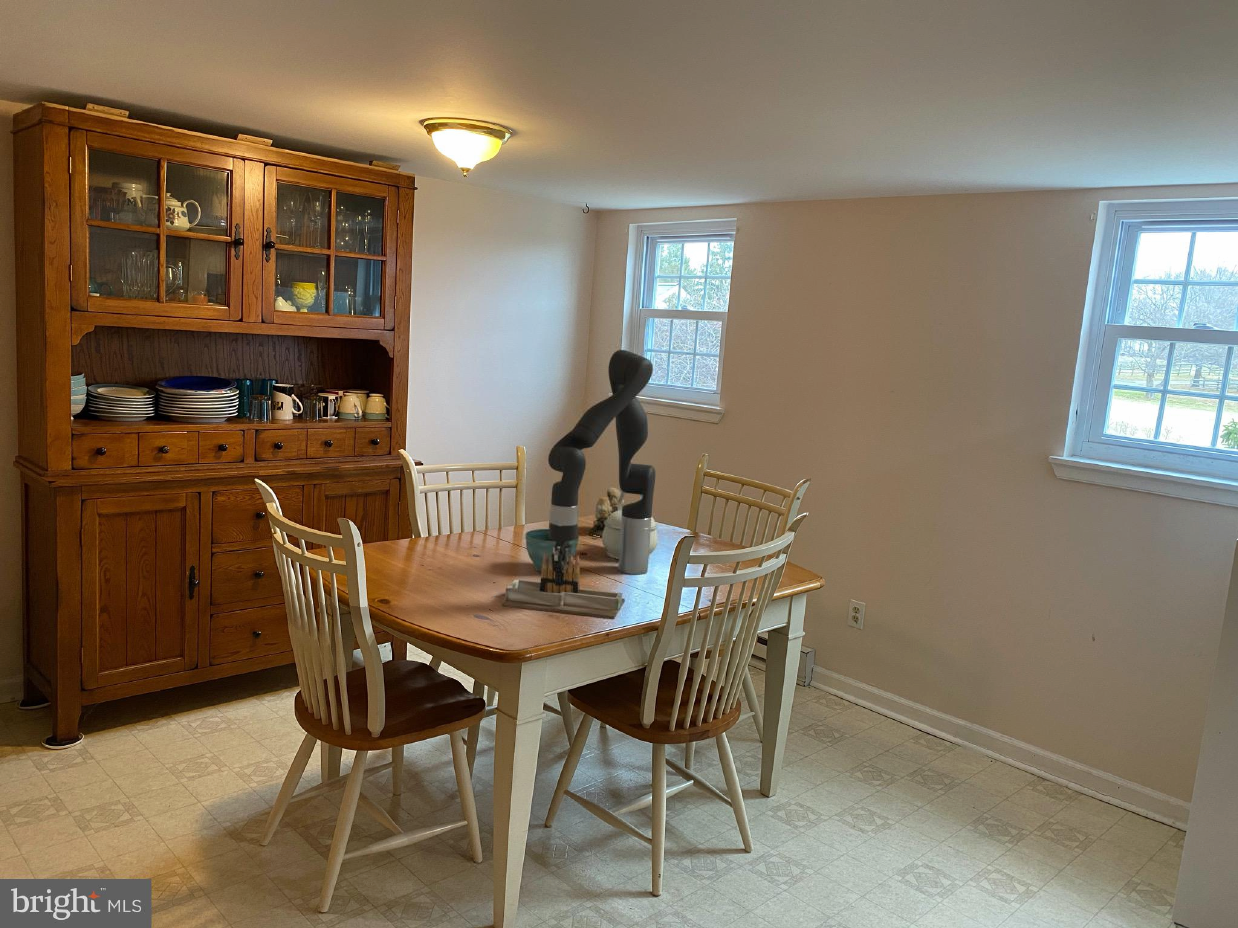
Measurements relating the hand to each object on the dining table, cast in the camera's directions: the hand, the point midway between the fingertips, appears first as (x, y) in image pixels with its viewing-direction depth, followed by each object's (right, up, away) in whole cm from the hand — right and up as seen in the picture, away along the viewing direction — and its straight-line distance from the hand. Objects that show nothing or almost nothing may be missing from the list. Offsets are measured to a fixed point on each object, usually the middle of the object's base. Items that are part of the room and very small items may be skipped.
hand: (560, 584), depth 246 cm
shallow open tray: (+1, -5, 0) cm, 5 cm away
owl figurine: (+12, +7, +88) cm, 89 cm away
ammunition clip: (0, -4, +1) cm, 4 cm away
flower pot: (-5, 0, +33) cm, 34 cm away
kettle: (+18, +2, +58) cm, 61 cm away
